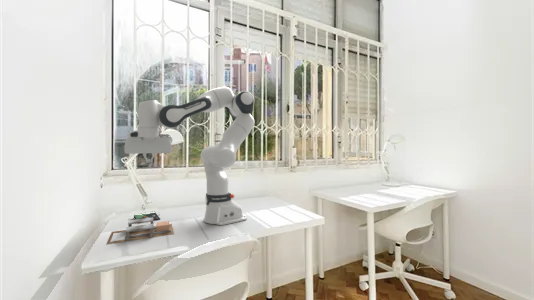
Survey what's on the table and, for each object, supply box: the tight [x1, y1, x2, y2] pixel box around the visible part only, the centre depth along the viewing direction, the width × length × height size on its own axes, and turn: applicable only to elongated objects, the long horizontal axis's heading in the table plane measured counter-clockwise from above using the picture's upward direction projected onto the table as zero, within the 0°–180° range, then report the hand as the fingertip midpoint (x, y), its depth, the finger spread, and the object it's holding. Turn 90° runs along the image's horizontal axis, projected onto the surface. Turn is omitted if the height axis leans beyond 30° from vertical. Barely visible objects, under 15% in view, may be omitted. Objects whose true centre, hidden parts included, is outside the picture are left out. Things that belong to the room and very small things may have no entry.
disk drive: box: [133, 212, 161, 225], centre depth 123 cm, size 10×3×15 cm
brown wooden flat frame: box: [105, 218, 175, 246], centre depth 102 cm, size 24×14×6 cm, turn 116°
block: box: [156, 220, 171, 231], centre depth 106 cm, size 5×5×3 cm
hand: (149, 162), depth 113 cm, fingers closed
